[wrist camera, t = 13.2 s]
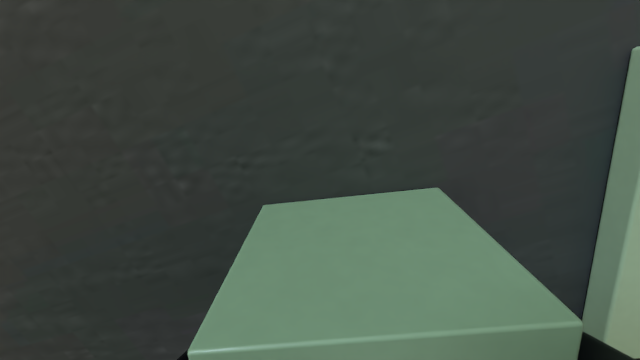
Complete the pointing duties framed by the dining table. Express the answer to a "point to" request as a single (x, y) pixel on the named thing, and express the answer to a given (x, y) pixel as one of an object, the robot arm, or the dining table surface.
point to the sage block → (381, 288)
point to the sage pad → (619, 234)
